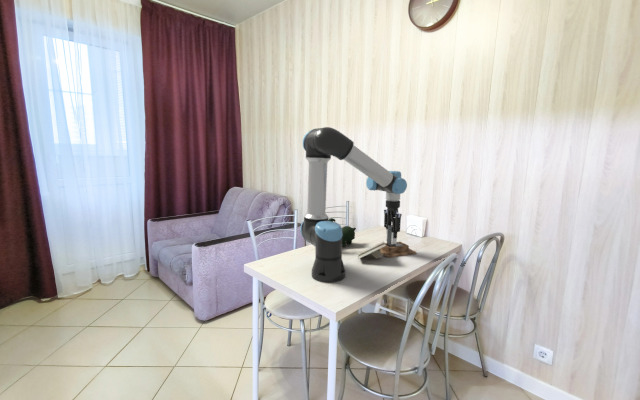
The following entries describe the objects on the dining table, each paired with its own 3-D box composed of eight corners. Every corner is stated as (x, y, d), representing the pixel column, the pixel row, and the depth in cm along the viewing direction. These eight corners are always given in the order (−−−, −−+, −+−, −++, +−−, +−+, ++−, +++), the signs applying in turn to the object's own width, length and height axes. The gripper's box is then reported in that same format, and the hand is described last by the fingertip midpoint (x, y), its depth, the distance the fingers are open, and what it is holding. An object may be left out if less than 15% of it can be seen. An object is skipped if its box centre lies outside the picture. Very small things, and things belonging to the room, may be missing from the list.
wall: (369, 272, 145) (393, 253, 144) (357, 258, 146) (381, 239, 145) (368, 265, 162) (390, 248, 160) (358, 253, 162) (379, 235, 161)
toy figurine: (331, 255, 163) (362, 242, 179) (329, 222, 159) (361, 212, 175) (320, 251, 170) (350, 239, 186) (318, 219, 166) (349, 209, 182)
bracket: (390, 250, 161) (391, 226, 159) (386, 248, 165) (387, 225, 163) (403, 248, 164) (404, 225, 162) (399, 246, 167) (400, 224, 165)
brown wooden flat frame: (387, 257, 155) (387, 250, 154) (374, 249, 168) (374, 242, 167) (416, 253, 161) (416, 246, 160) (401, 246, 174) (401, 239, 173)
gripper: (408, 202, 152) (406, 246, 156) (390, 197, 168) (388, 237, 172) (396, 203, 150) (394, 247, 153) (378, 198, 166) (377, 238, 170)
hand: (391, 242), depth 163 cm, fingers open, 4 cm apart
